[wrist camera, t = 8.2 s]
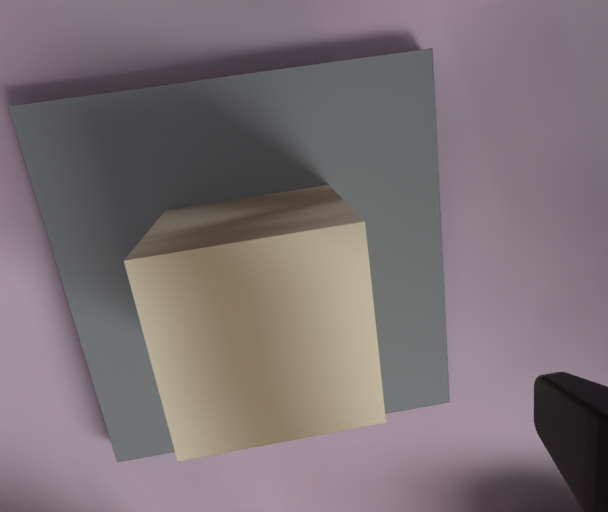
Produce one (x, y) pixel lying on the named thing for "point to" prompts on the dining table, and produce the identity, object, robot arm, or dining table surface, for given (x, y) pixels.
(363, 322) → the ash block
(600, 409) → the robot arm
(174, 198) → the slate mat
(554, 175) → the dining table surface
